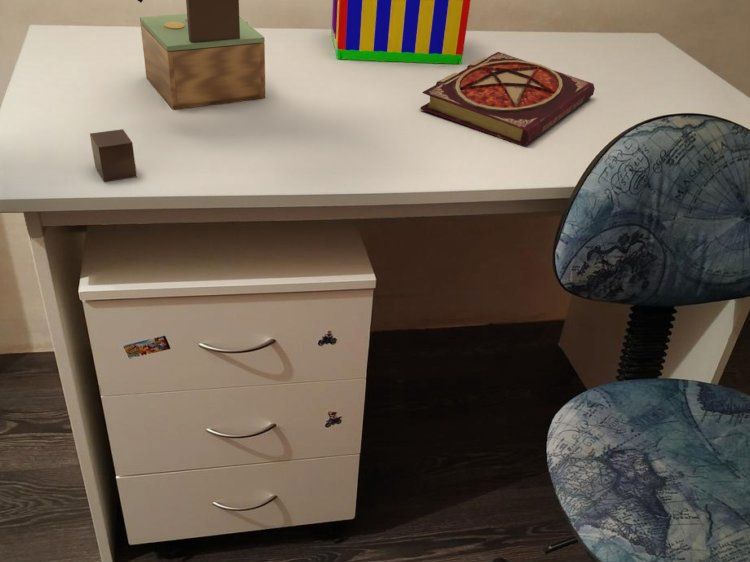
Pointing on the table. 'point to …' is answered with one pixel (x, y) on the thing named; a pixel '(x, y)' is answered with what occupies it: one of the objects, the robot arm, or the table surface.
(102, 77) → the table surface
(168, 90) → the wooden open box
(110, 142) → the block
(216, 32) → the lid
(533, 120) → the book
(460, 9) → the toy house
